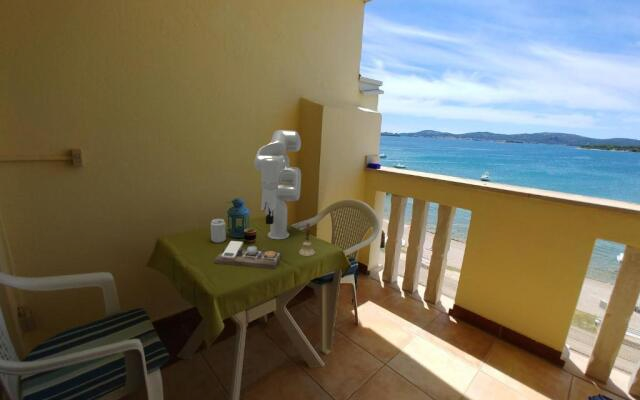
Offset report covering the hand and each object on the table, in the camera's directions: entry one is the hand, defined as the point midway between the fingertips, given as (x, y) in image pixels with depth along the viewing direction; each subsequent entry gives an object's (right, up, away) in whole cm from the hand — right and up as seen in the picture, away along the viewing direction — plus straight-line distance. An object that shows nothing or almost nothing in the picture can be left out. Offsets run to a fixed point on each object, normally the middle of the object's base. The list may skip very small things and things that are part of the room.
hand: (269, 223), depth 123 cm
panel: (-10, -18, +2) cm, 20 cm away
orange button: (0, -16, +1) cm, 16 cm away
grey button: (-9, -14, +1) cm, 16 cm away
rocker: (-18, -13, +2) cm, 22 cm away
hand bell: (+17, -17, +13) cm, 27 cm away
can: (-33, -12, +22) cm, 41 cm away
